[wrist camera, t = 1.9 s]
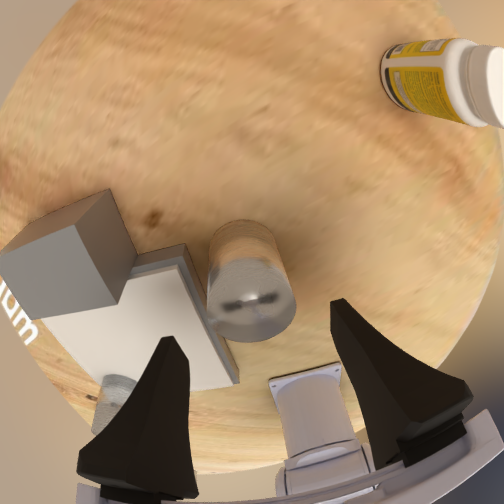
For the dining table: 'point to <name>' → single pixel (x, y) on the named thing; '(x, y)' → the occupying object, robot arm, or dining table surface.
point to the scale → (113, 294)
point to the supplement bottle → (447, 80)
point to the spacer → (247, 284)
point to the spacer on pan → (111, 399)
